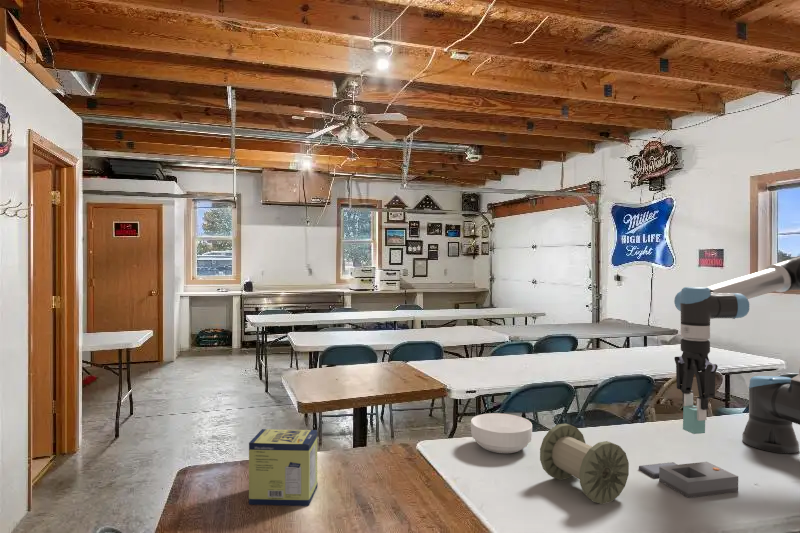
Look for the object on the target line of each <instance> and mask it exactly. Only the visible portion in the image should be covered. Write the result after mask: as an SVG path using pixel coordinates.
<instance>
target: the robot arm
mask: <svg viewBox="0 0 800 533" xmlns="http://www.w3.org/2000/svg"><path fill="white" fill-rule="evenodd" d="M788 291H800V256H796V257H792V258H789V259H785V260H783V261H779V262H777V263H773V264H769V265H767V266H766V267H765V269H762V270H760V271H756V272H752V273H750V274H746V275H742V276H739V277H735V278H732V279H728V280H726V281H722V282H718V283H714V284H712V285H709V286H685V287H683V288H681V290H680V291H679V292H677V293H676V294H675V297H674V301H673V302H674V305H675V308H676V309H677V310H678V312H680V337H681V339H680V351H681V352H682V353H681V355H679V356H675V357H674V362H675V372H676V374H675V375H676V376H675V377H676V378H675V380H676V389H677V390H680V392H681V393H682V404H683V406H694V393H693V392H694V390H692V386H693V382H694V377H695V380H696V383H697V384H696V385H697V390H698V392H697V393H698V396H696V406H697V420H698V421H702V420H705V421H707V416H708V415H707V411H708V409H709V399H711V398H713V399H714V398H715V397H716V375H717V369H718V364H716V363H712V362H711V361H710V358H709V354H710V352H711V341H710V339H711V319H732V320H733V319H734V320H735V319H739V318H740V319H742V318H744V317H745V316H747V315H748V313H749V311H750V301H749V300H750V299H752V298H755V297H759V296H763V295H766V294H770V293H774V292H776V293H784V292H788ZM793 423H794V424H796V425H799V426H800V368H799V370H798V373H797V375H795V376H793V377H789V376H777V375H756V376H755V375H754V376H752V377H750V379H749V384H748V420H747V423H746V424H745V427H744V431H743V432H742V442H743V443H744V444H746V445H748V446H750V447H752V448H755V449H757V450H758V449H759V450H762V451H766V452H770V453H778V454H797V453H798V452H799V451H800V443H799V441H798V438H797V435H796V432H795V430H794V427H793Z"/></svg>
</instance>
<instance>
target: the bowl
mask: <svg viewBox="0 0 800 533" xmlns="http://www.w3.org/2000/svg"><path fill="white" fill-rule="evenodd" d="M470 432H471V433H470V434H471V437H472V438H473V439H474V441H475V442H476V443H477V444H478V445H479V446H480V447H481V448H483V449H484V450H486V451H489V452H493V453H497V454H513V453H517V452H520V451H521V450H523V449H525V448H526V447H527V446H528V445H529V444H530V443H531V442H532V438H533V424H532V422H531V421H530V420H529V419H527V418H525V417H522V416H519V415H515V414H508V413H499V412H497V413H496V412H494V413H493V412H492V413H491V412H490V413H483V414H478V415H475V416H473V417H472V418H471V420H470Z"/></svg>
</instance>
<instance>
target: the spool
mask: <svg viewBox="0 0 800 533" xmlns="http://www.w3.org/2000/svg"><path fill="white" fill-rule="evenodd" d="M539 462H540V464H541V466H542V469H543V470H544V471H545V473H547V475H548V476H549V477H551V478H553V479H556V480H559V481H560V480H561V481H562V480H565V479H569V478H572V477H574V478H576V479H578V480H579V484H580V487H581V490H582V493H583V494H584V495H585V496H586V497H587V499H588V500H590V501H592V502H594V503H597V504H601V505H604V504H608V503H611V502H613V501H615V500H616V499H617V498H618V497H619V496H620V495H621V493H622V491H623V490H624V489H625V487H626V485H627V481H628V478H629V469H630V468H629V466H630V463H629V459H628V456H627V454H626V451H625V450H623V448H622V447H621V446H620V445H618V444H615V443H613V442H610V441H608V440H606V441H599V442H597V443H596V444H594V445H593V446H592V445H590V444H587V443H586V440H585V437H584V434H583V432H581V431H580V430H579V428H578V427H576V426H574V425H571V424H568V423H559V424H556V425H555V426H554V427H552V428H550V429H549V430H548V432H546V434H545V436H544V437H543V438H542V443H541V445H540V448H539Z"/></svg>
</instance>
